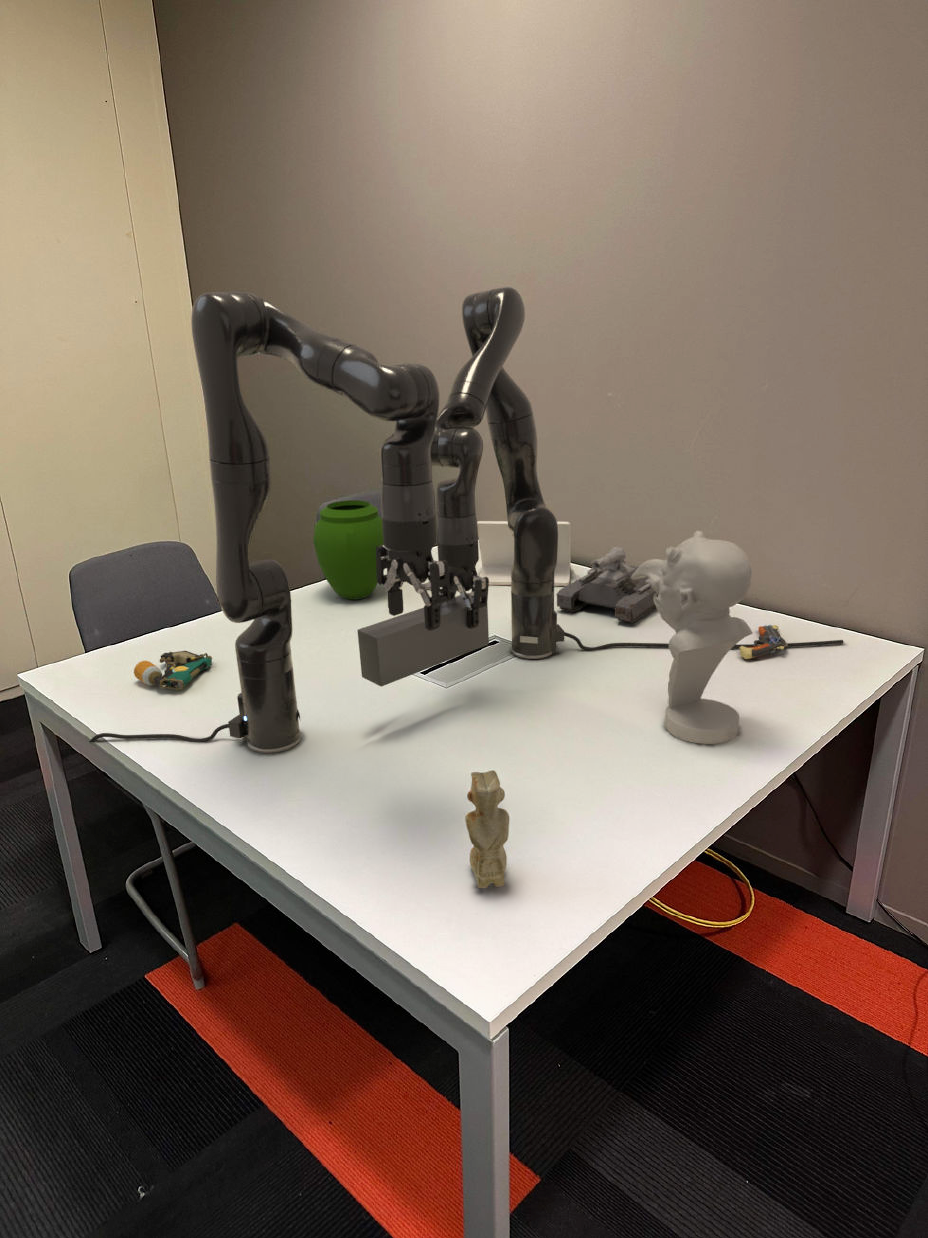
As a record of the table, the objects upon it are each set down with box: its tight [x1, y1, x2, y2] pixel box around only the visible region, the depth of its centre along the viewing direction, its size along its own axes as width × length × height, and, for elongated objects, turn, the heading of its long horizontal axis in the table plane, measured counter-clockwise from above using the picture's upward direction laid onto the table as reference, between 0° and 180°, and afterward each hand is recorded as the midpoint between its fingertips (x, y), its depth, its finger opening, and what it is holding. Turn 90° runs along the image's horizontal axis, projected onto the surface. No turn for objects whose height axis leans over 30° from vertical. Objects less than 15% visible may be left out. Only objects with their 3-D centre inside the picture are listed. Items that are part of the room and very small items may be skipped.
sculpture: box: [464, 769, 510, 889], centre depth 113 cm, size 6×7×15 cm
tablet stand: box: [477, 520, 572, 587], centre depth 236 cm, size 18×25×17 cm
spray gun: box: [133, 650, 213, 690], centre depth 180 cm, size 4×17×15 cm
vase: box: [312, 499, 384, 601], centre depth 223 cm, size 20×20×24 cm
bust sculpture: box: [631, 530, 754, 745], centre depth 151 cm, size 16×24×35 cm, turn 28°
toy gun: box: [739, 624, 788, 660], centre depth 187 cm, size 3×19×10 cm
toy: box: [556, 546, 656, 624], centre depth 212 cm, size 25×20×15 cm
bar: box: [357, 594, 490, 688], centre depth 157 cm, size 26×6×9 cm, turn 132°
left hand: (414, 621), depth 125 cm, fingers open, 8 cm apart
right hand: (461, 622), depth 162 cm, fingers closed on bar, 6 cm apart
